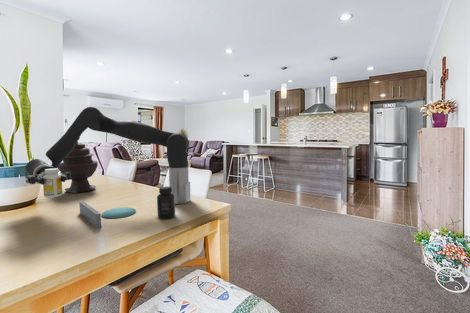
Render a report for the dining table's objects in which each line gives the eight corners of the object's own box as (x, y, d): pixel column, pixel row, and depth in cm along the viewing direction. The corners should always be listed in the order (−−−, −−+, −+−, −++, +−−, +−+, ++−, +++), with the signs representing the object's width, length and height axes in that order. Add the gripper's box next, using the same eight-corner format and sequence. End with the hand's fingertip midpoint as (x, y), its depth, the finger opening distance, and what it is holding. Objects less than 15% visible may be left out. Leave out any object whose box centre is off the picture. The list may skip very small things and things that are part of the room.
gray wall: (79, 213, 105) (79, 201, 105) (83, 212, 106) (83, 200, 106) (96, 228, 88) (95, 214, 88) (101, 227, 89) (100, 213, 89)
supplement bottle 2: (178, 215, 102) (177, 186, 101) (168, 220, 96) (168, 189, 95) (164, 213, 105) (163, 185, 103) (153, 218, 98) (152, 188, 97)
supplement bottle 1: (46, 198, 85) (44, 170, 84) (42, 196, 88) (39, 169, 87) (64, 195, 89) (62, 168, 88) (60, 193, 92) (58, 167, 91)
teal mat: (141, 209, 110) (141, 208, 110) (123, 219, 97) (123, 218, 97) (115, 208, 112) (115, 206, 112) (94, 217, 100) (93, 216, 100)
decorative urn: (104, 184, 161) (98, 130, 155) (95, 194, 141) (87, 132, 135) (69, 187, 156) (61, 131, 150) (54, 198, 137) (44, 134, 131)
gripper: (21, 166, 93) (25, 171, 81) (67, 163, 103) (76, 167, 91) (23, 186, 94) (27, 194, 82) (68, 181, 104) (78, 187, 92)
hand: (53, 180), depth 86 cm, fingers closed on supplement bottle 1, 5 cm apart
